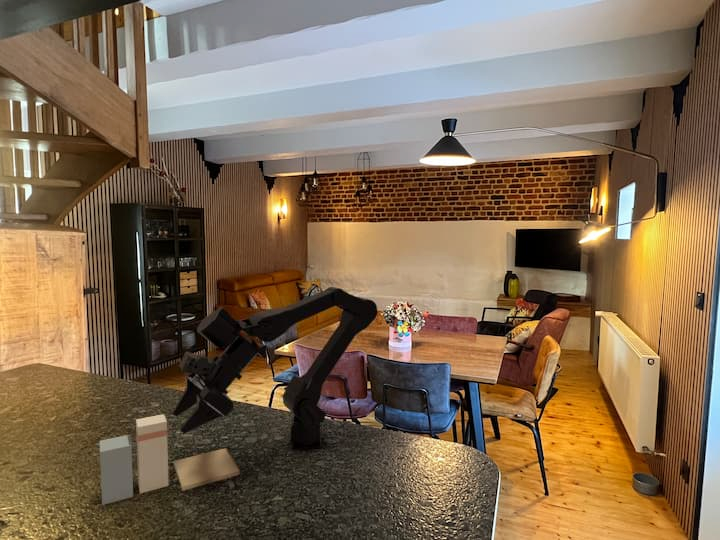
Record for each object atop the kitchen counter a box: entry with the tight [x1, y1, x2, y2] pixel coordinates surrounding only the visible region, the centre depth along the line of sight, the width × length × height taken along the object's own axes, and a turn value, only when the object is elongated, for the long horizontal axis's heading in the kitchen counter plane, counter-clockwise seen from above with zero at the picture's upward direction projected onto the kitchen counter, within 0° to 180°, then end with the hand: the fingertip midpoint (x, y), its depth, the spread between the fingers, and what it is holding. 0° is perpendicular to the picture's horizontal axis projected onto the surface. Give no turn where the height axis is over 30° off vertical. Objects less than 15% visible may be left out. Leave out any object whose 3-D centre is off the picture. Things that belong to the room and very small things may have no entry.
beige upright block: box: [135, 413, 169, 494], centre depth 84 cm, size 5×4×13 cm
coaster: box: [172, 447, 241, 492], centre depth 90 cm, size 11×11×1 cm
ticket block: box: [99, 434, 134, 506], centre depth 81 cm, size 5×5×10 cm
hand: (178, 423), depth 86 cm, fingers open, 9 cm apart
